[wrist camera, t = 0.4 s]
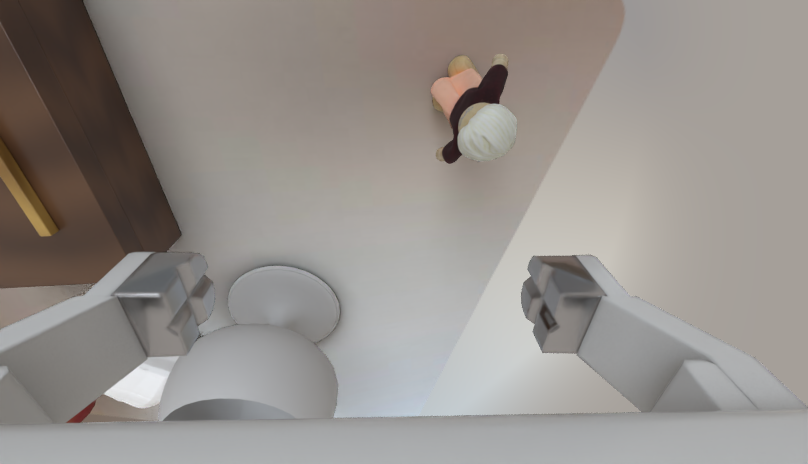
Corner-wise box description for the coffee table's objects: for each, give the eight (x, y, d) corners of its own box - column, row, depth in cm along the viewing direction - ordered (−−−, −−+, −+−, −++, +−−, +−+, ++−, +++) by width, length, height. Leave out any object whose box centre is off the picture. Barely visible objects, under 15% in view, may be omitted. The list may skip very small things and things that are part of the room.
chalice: (319, 362, 45) (293, 499, 33) (205, 326, 41) (124, 466, 28) (369, 286, 39) (362, 419, 26) (242, 235, 35) (161, 362, 22)
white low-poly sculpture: (221, 316, 45) (65, 288, 34) (220, 382, 39) (33, 372, 29) (188, 351, 48) (36, 335, 37) (183, 417, 42) (2, 419, 32)
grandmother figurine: (447, 33, 27) (488, 47, 16) (493, 51, 28) (563, 75, 17) (415, 131, 31) (430, 197, 20) (456, 144, 31) (493, 214, 21)
